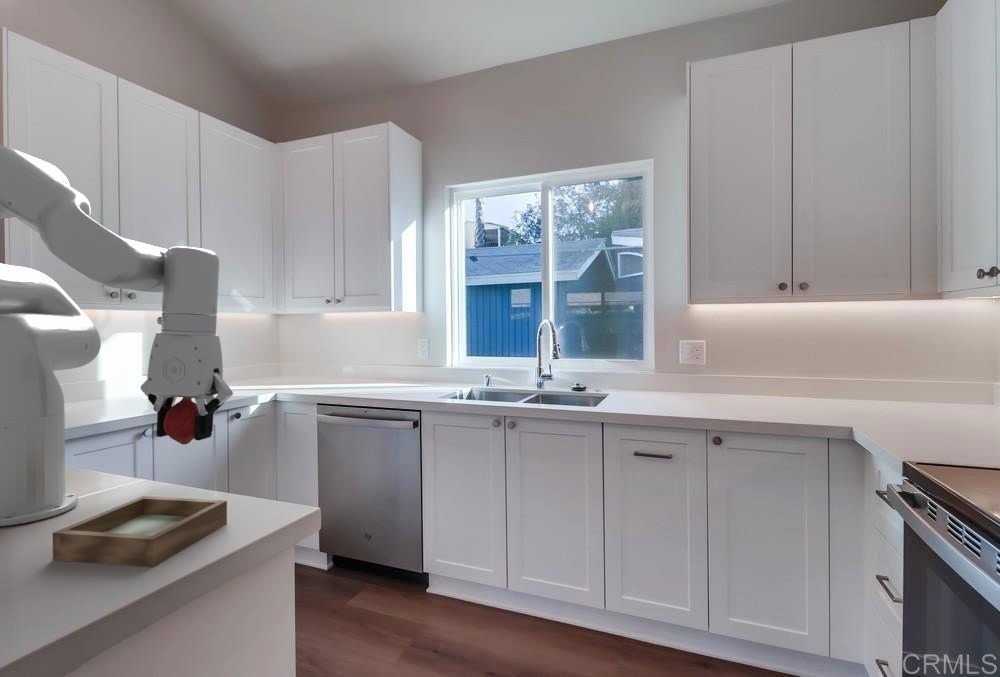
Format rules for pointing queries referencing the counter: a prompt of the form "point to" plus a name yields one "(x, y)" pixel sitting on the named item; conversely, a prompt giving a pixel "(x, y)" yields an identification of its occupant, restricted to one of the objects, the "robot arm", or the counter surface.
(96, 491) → the counter surface
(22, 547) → the counter surface
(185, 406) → the dark red round piece
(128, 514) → the tray
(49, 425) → the robot arm
